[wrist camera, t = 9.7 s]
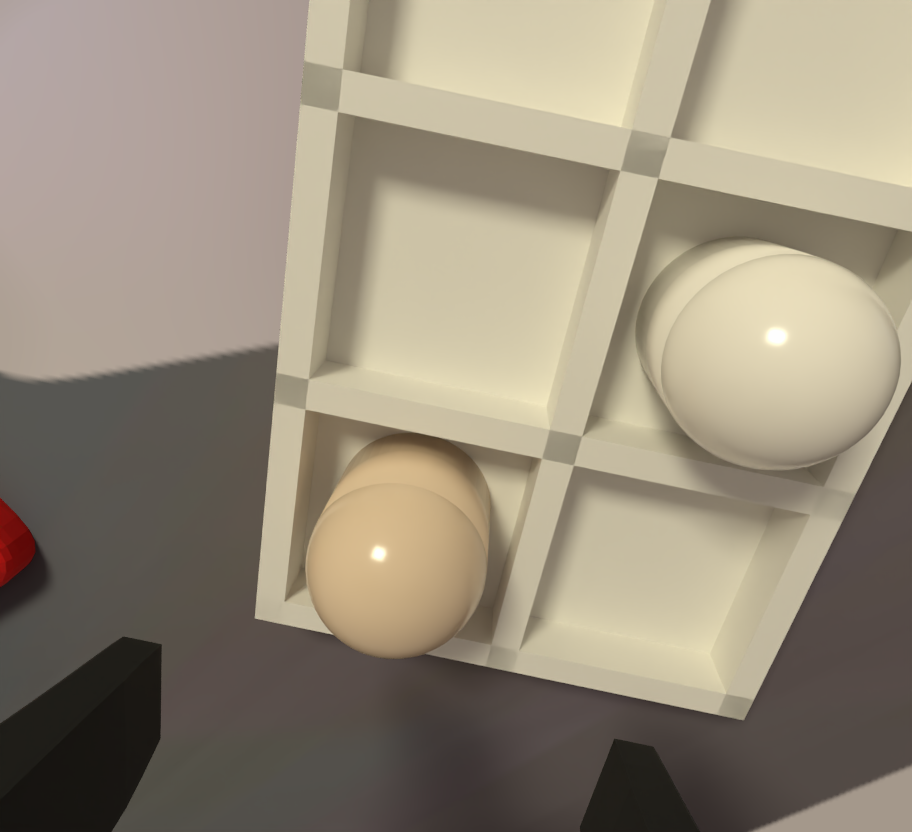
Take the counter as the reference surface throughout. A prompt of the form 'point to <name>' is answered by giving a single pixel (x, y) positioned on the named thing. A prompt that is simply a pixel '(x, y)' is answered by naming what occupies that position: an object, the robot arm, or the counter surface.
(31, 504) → the counter surface
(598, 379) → the egg box
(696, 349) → the egg
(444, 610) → the egg
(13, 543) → the popsicle
